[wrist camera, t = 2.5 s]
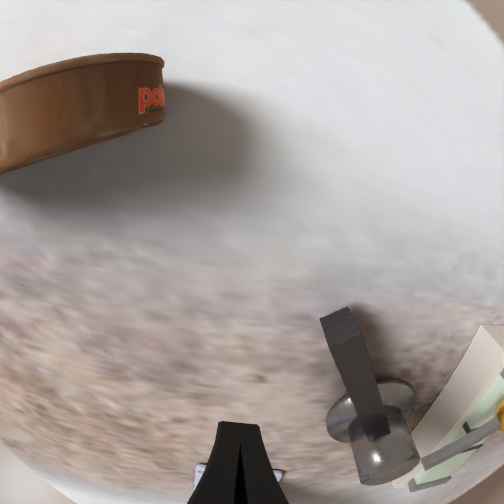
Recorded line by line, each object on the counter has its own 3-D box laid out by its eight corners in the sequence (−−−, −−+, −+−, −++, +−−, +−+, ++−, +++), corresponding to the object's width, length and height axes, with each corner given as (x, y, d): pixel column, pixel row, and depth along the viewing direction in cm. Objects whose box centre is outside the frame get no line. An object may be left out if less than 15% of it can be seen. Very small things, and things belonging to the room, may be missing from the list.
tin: (183, 67, 13) (110, 12, 5) (189, 132, 14) (118, 144, 6) (-32, 138, 13) (-130, 167, 5) (-26, 184, 14) (-120, 228, 6)
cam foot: (487, 375, 20) (524, 431, 14) (338, 446, 22) (354, 516, 16) (487, 226, 15) (568, 280, 8) (270, 328, 17) (280, 434, 11)
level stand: (435, 454, 26) (448, 484, 21) (385, 462, 25) (396, 498, 21) (526, 326, 19) (556, 357, 15) (480, 324, 18) (514, 363, 14)
